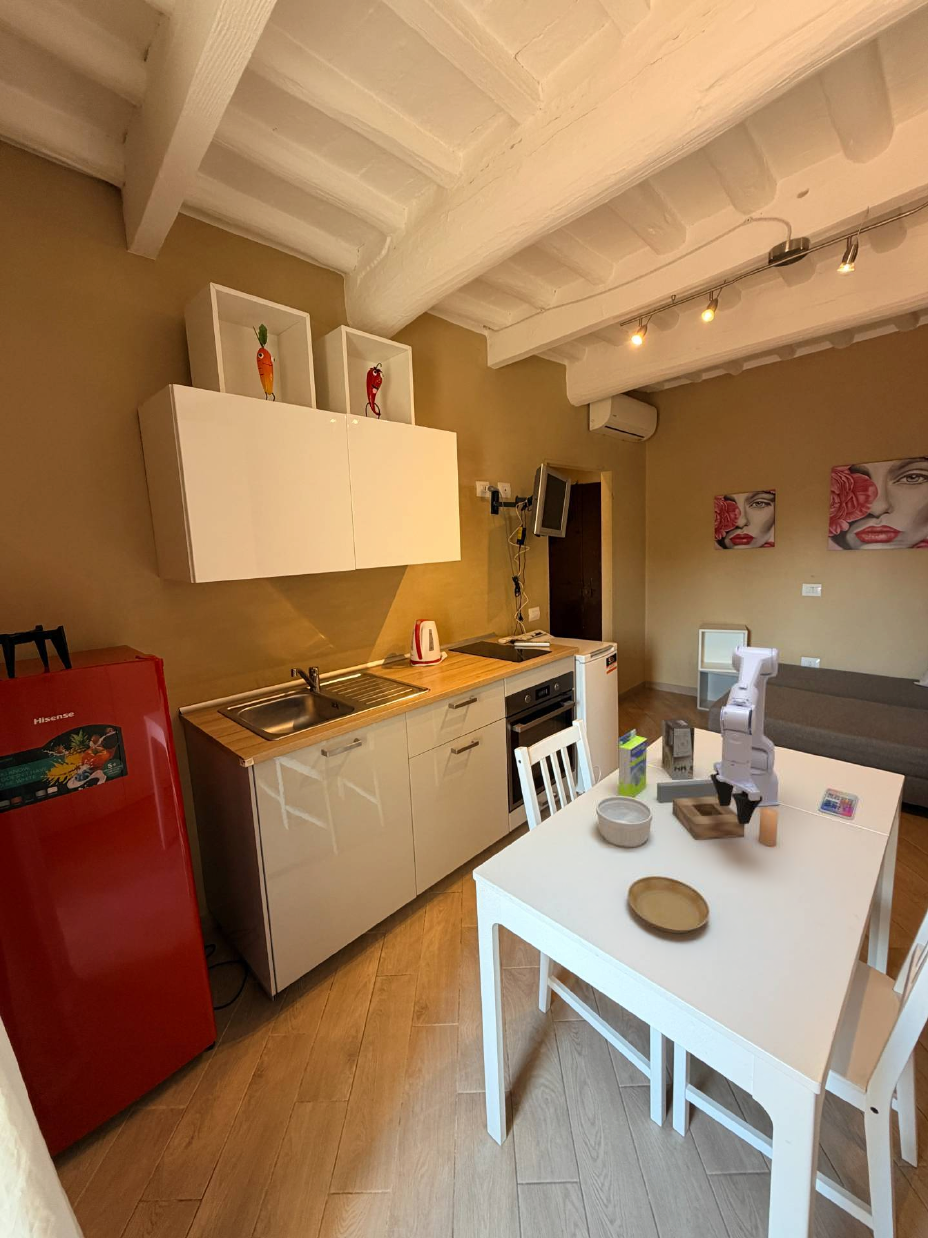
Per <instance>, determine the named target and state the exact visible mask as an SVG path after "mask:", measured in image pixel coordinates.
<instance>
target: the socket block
mask: <svg viewBox="0 0 928 1238" xmlns="http://www.w3.org/2000/svg"><path fill="white" fill-rule="evenodd" d="M672 814H673V815H674V816H675V818H676V819H677V820H678V821H679V823H680V824H682V826H683V827H684V828H685V830H686V831H687V832H688V834H689V833H690V835H691V836H692V837H693V839H694V841H695V840H696V841H698V840H699V841H700V840H712V839H726V838H728V839H729V838H741V837H745V828H746V827H745V825H746V824H740V823H738V818H737V812H736V811H734V810H733V809H732V808H731V807H730V806H720V804H719V800H718V796H712V797H697V798H681V799H673V802H672Z"/></svg>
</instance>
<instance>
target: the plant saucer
mask: <svg viewBox="0 0 928 1238" xmlns="http://www.w3.org/2000/svg"><path fill="white" fill-rule="evenodd" d="M627 898H628V902H629V904H630V906H631V907H632V909H633V911H635V913H636V914H637V915H638V916H639V917H640V918H641V919H642V920H643V921H644V922H646V923H647V924H649V925H650V926H652V927H654V928H656V929H658V930H661V931H663V932H667V933H673V934H674V933H675V934H683V933H688V932H692V931H694V930H697V929H698V928H701V927H702V926H703V925H704V924H706V922H707V921H708V919H709V917H710V907H709V904H708V902H707V900H706V899H705V898H704V896H703V895H702V894H701V893H700V892H699V891H698V890H696V889H695V888H694V887H692V886H690V885H688V884H687V883H685V882H683V881H681V880H678V879H675V878H671V877H668V876H659V875H658V876H657V875H656V876H655V875H652V876H646V877H645V876H644V877H642V878H639V879H637V880H635V881H634V882H632V883H631V884H630V885H629V887H628V890H627Z"/></svg>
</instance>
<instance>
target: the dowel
mask: <svg viewBox="0 0 928 1238" xmlns="http://www.w3.org/2000/svg"><path fill="white" fill-rule="evenodd" d="M759 814H760V815H759V827H758V828H759V832H758V842H759V843H760V844H761V845H763V846H765V847H771V848H772V847H776V846H777V840H778V839H777V837H778V836H777V835H778V816H779V812H778V811H777V810H776V809H774V808H771V807H769V806H762V807H761V808H760V813H759Z"/></svg>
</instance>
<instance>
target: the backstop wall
mask: <svg viewBox="0 0 928 1238" xmlns="http://www.w3.org/2000/svg"><path fill="white" fill-rule="evenodd" d="M712 796H717V792H716V788H715V786H714V783H713V781H712V779H711V778H710V779H699V780H683V781H682V780H681V781H666V782H665V781H664V782H657V783H656V800H657V801H658V802H659V804H667V803H673V799H681V798H697V797H712Z"/></svg>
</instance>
